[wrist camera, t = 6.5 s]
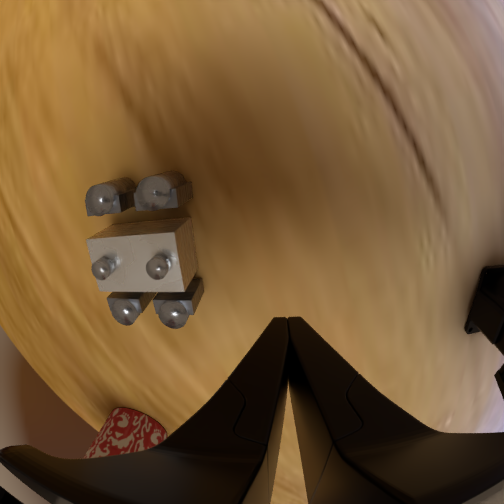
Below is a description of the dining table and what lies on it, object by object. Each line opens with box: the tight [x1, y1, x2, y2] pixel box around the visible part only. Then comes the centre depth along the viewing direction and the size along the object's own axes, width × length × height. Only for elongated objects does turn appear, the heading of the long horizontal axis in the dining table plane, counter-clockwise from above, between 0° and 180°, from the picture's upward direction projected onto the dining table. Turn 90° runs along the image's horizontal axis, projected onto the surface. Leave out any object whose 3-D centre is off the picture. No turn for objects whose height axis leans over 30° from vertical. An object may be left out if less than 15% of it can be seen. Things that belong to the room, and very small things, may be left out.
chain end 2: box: [134, 171, 204, 329], centre depth 17 cm, size 2×9×3 cm, turn 4°
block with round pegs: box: [86, 217, 198, 292], centre depth 17 cm, size 6×4×4 cm, turn 95°
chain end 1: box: [85, 177, 157, 325], centre depth 17 cm, size 2×9×3 cm, turn 3°
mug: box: [83, 408, 167, 459], centre depth 21 cm, size 13×9×14 cm
